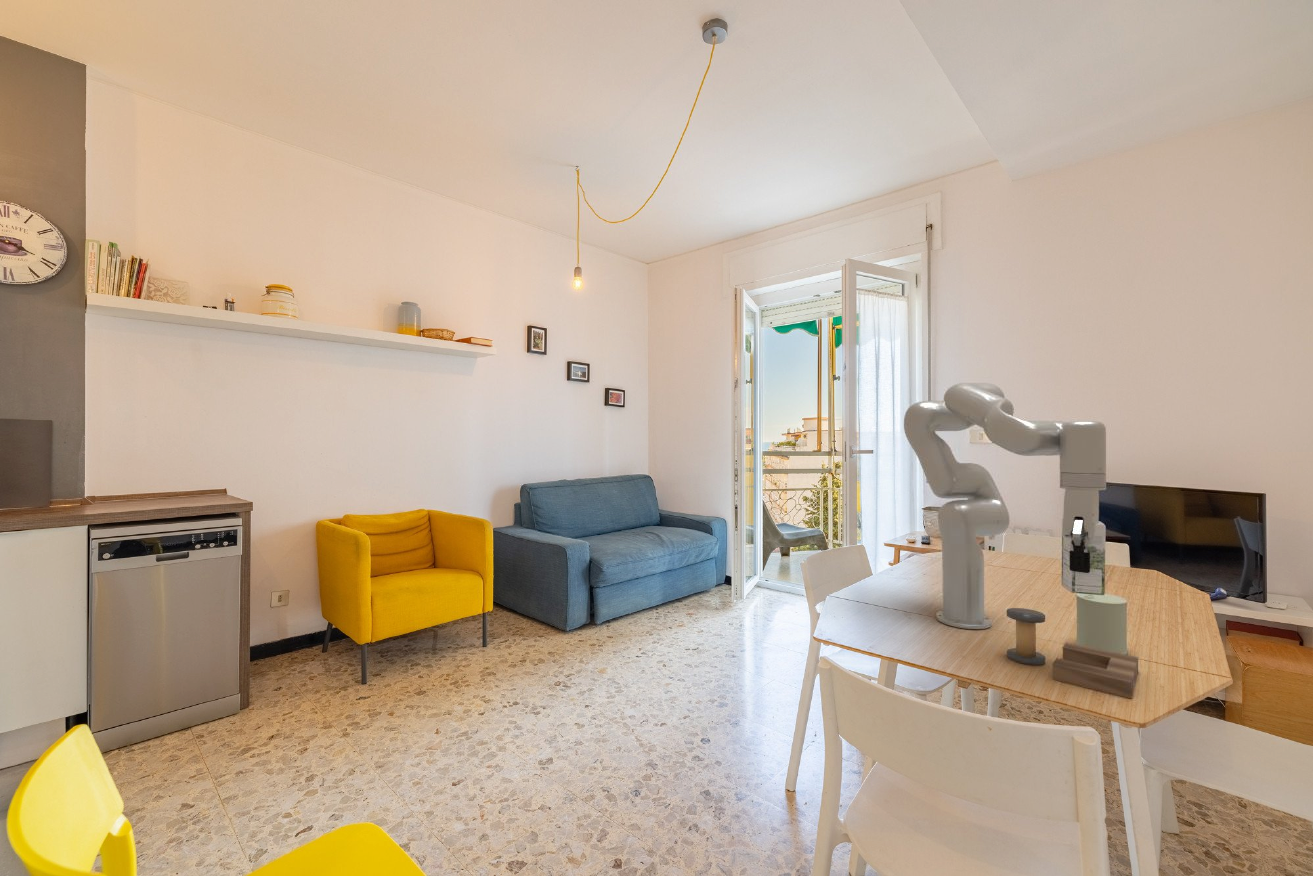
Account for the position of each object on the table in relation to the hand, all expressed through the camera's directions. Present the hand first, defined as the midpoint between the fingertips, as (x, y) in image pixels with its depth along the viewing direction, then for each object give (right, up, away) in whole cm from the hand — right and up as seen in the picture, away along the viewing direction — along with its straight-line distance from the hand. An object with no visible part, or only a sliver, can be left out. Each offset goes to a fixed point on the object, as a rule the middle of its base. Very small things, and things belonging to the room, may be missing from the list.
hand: (1082, 567), depth 113 cm
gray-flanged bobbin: (-7, -22, +7) cm, 24 cm away
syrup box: (0, -5, 0) cm, 5 cm away
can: (+14, -22, +13) cm, 29 cm away
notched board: (+2, -22, -1) cm, 22 cm away
